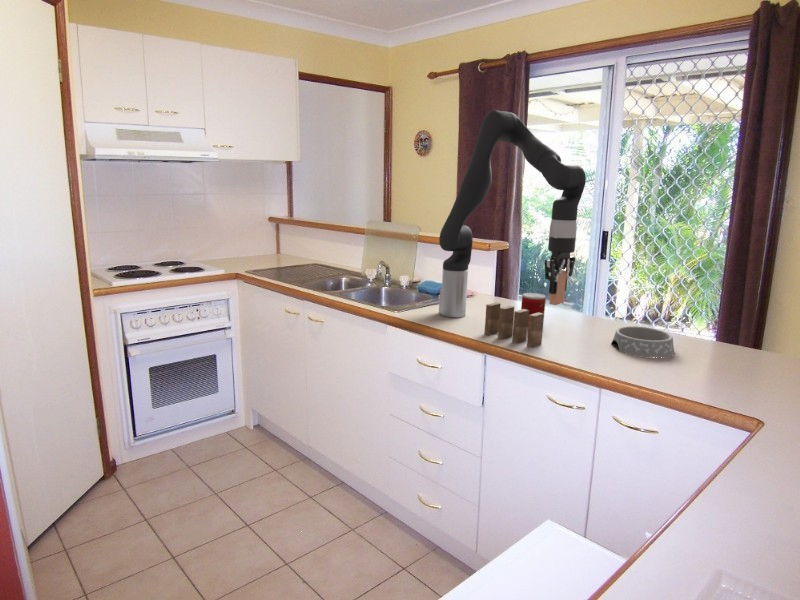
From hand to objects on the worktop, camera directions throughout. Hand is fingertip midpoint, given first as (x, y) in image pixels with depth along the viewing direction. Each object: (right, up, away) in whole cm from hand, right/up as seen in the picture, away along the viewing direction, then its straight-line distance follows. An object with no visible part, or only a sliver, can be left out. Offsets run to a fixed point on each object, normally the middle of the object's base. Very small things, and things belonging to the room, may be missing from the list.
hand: (557, 292), depth 162 cm
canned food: (-1, -12, +29) cm, 32 cm away
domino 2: (-13, -14, +15) cm, 24 cm away
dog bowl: (+28, -18, +7) cm, 34 cm away
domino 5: (0, -3, +1) cm, 3 cm away
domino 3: (-9, -15, +11) cm, 21 cm away
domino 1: (-17, -13, +19) cm, 28 cm away
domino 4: (-5, -16, +7) cm, 19 cm away
